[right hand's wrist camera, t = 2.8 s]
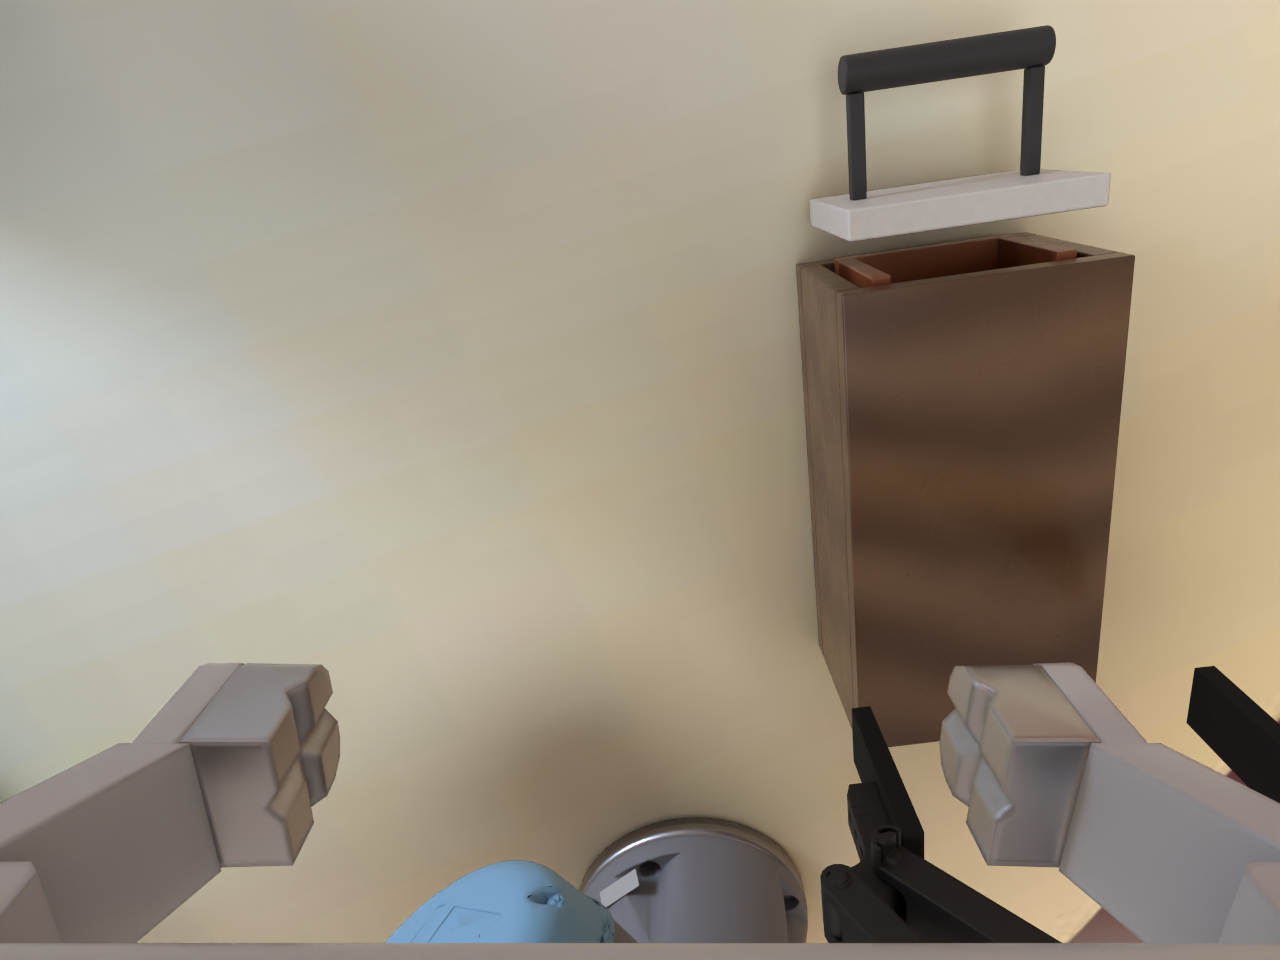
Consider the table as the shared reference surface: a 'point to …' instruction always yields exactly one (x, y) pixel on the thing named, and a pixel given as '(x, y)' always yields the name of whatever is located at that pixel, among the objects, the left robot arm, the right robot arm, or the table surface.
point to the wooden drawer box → (960, 473)
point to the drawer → (955, 197)
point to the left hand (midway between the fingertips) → (1029, 713)
